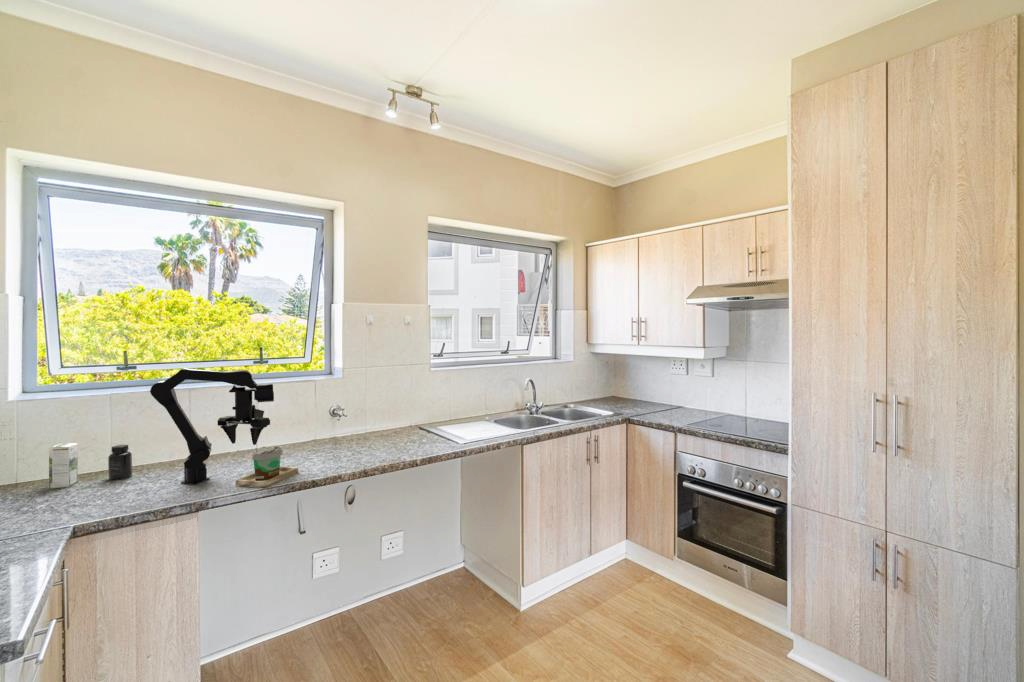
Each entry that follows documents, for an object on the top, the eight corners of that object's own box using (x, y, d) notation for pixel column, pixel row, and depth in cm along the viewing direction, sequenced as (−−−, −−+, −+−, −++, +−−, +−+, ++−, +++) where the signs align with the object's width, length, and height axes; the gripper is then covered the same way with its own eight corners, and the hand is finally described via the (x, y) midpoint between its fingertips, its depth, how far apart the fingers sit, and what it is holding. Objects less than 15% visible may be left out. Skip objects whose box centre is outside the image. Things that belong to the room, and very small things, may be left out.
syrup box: (57, 483, 168) (56, 443, 168) (78, 481, 170) (77, 442, 170) (48, 488, 163) (47, 447, 162) (70, 486, 165) (69, 446, 164)
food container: (267, 483, 168) (267, 455, 167) (252, 481, 169) (252, 454, 169) (290, 472, 180) (289, 446, 180) (275, 471, 181) (275, 446, 181)
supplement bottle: (136, 475, 177) (136, 444, 177) (117, 481, 171) (116, 448, 170) (123, 474, 179) (123, 443, 179) (103, 479, 173) (103, 447, 172)
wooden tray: (235, 485, 166) (235, 480, 166) (271, 470, 184) (271, 465, 184) (265, 488, 164) (265, 482, 164) (298, 472, 182) (298, 467, 182)
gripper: (279, 400, 184) (280, 440, 184) (238, 399, 187) (239, 438, 188) (259, 405, 173) (259, 447, 173) (216, 403, 176) (216, 444, 177)
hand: (244, 444), depth 178 cm, fingers open, 9 cm apart
